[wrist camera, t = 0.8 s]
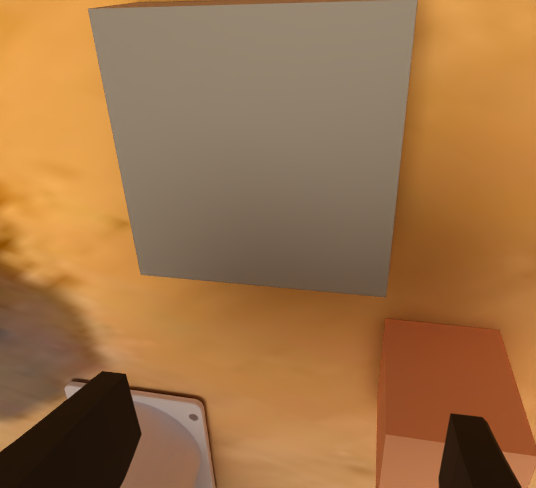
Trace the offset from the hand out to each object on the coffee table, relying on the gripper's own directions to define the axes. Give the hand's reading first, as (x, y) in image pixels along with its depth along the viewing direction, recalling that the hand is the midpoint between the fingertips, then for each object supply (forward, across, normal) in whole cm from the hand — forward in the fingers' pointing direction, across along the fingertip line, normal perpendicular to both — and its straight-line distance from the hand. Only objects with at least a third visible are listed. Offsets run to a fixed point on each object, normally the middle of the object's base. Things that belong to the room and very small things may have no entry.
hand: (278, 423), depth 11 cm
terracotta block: (+10, -5, +6) cm, 13 cm away
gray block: (+10, +2, -4) cm, 10 cm away
